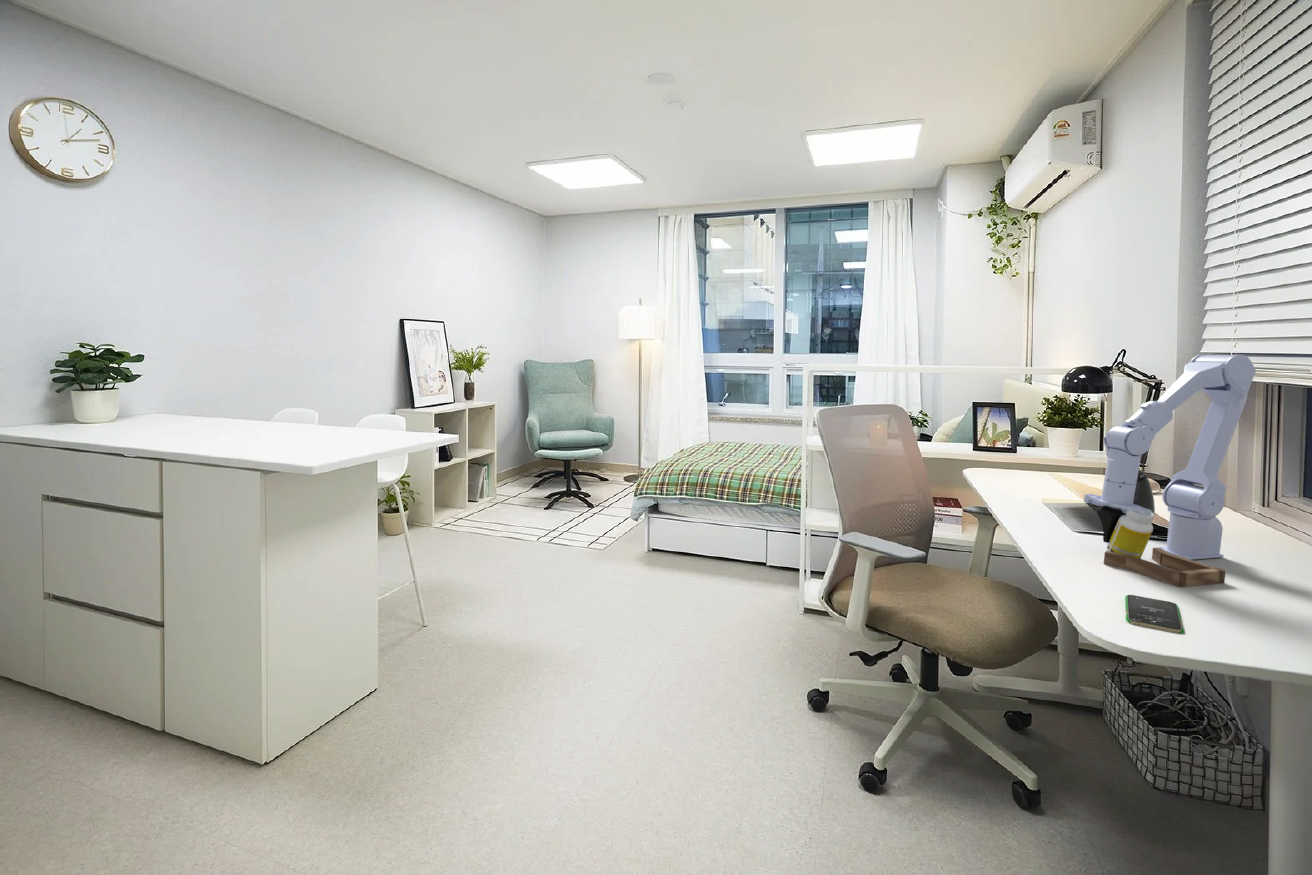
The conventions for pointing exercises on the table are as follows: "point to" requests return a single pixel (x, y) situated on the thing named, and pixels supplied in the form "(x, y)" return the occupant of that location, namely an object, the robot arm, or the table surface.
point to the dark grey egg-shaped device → (1143, 493)
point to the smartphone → (1153, 613)
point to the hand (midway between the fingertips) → (1109, 542)
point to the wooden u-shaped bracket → (1185, 576)
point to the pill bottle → (1131, 534)
